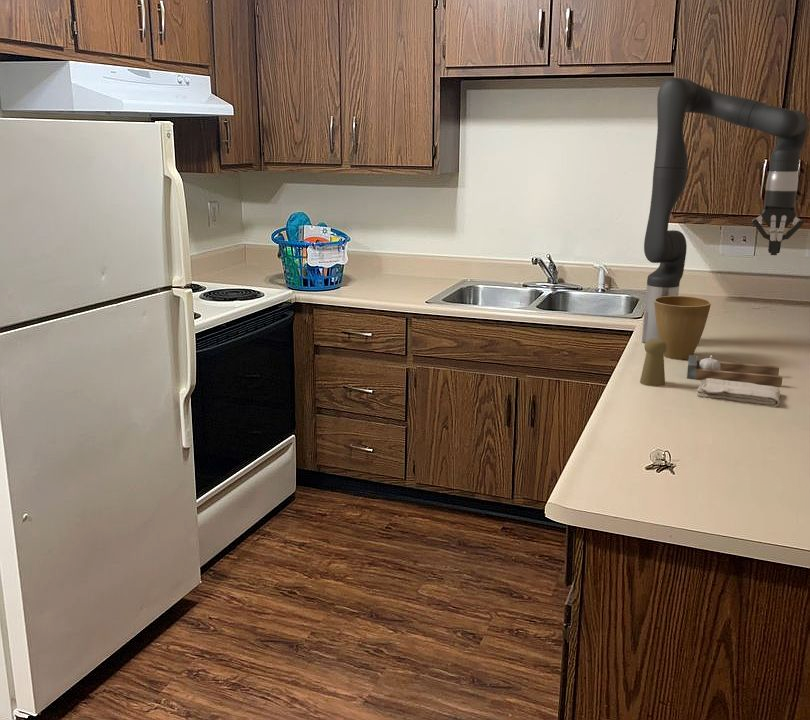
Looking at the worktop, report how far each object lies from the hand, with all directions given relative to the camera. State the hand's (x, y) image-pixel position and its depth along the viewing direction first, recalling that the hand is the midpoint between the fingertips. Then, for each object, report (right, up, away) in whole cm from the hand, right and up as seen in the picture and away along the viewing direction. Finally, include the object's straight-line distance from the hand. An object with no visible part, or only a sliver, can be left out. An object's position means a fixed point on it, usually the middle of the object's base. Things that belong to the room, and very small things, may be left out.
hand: (773, 254), depth 219 cm
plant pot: (-23, -27, +10) cm, 37 cm away
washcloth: (-20, -37, -26) cm, 50 cm away
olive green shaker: (-37, -34, -16) cm, 53 cm away
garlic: (-21, -32, -9) cm, 39 cm away
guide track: (-15, -32, -10) cm, 37 cm away
